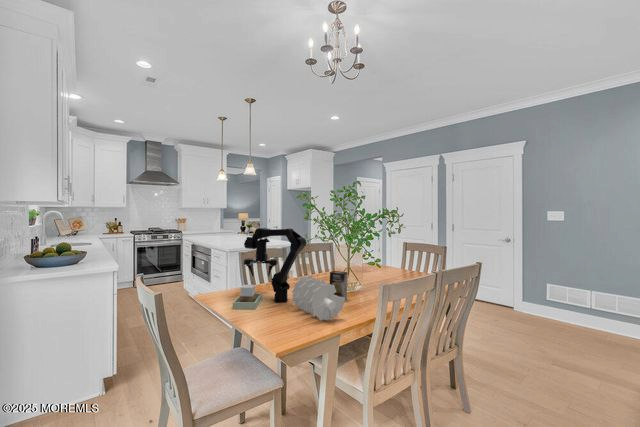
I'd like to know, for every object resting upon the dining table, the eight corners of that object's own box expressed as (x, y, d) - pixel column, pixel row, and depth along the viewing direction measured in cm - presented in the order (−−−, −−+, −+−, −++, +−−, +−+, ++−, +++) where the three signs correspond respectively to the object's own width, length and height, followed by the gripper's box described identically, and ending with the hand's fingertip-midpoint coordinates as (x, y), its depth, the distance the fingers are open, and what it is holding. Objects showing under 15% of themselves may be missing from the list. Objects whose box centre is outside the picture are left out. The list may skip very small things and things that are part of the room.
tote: (262, 300, 171) (262, 293, 170) (255, 310, 154) (255, 302, 153) (241, 300, 171) (241, 292, 171) (232, 310, 154) (232, 302, 154)
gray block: (254, 293, 162) (254, 284, 162) (252, 296, 156) (252, 287, 156) (243, 292, 162) (243, 284, 162) (240, 296, 156) (240, 287, 156)
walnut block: (255, 303, 163) (255, 292, 162) (252, 308, 156) (252, 296, 155) (242, 303, 163) (243, 292, 162) (239, 307, 156) (239, 296, 155)
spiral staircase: (323, 332, 138) (295, 313, 158) (350, 310, 146) (321, 294, 167) (310, 300, 132) (283, 284, 153) (339, 279, 141) (310, 266, 161)
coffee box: (328, 300, 173) (329, 272, 173) (332, 297, 179) (333, 270, 179) (343, 302, 170) (344, 273, 170) (347, 299, 176) (347, 271, 176)
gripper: (279, 248, 182) (278, 273, 183) (248, 247, 183) (248, 273, 183) (276, 250, 171) (276, 278, 172) (243, 250, 171) (243, 277, 172)
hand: (260, 276), depth 175 cm, fingers open, 9 cm apart
